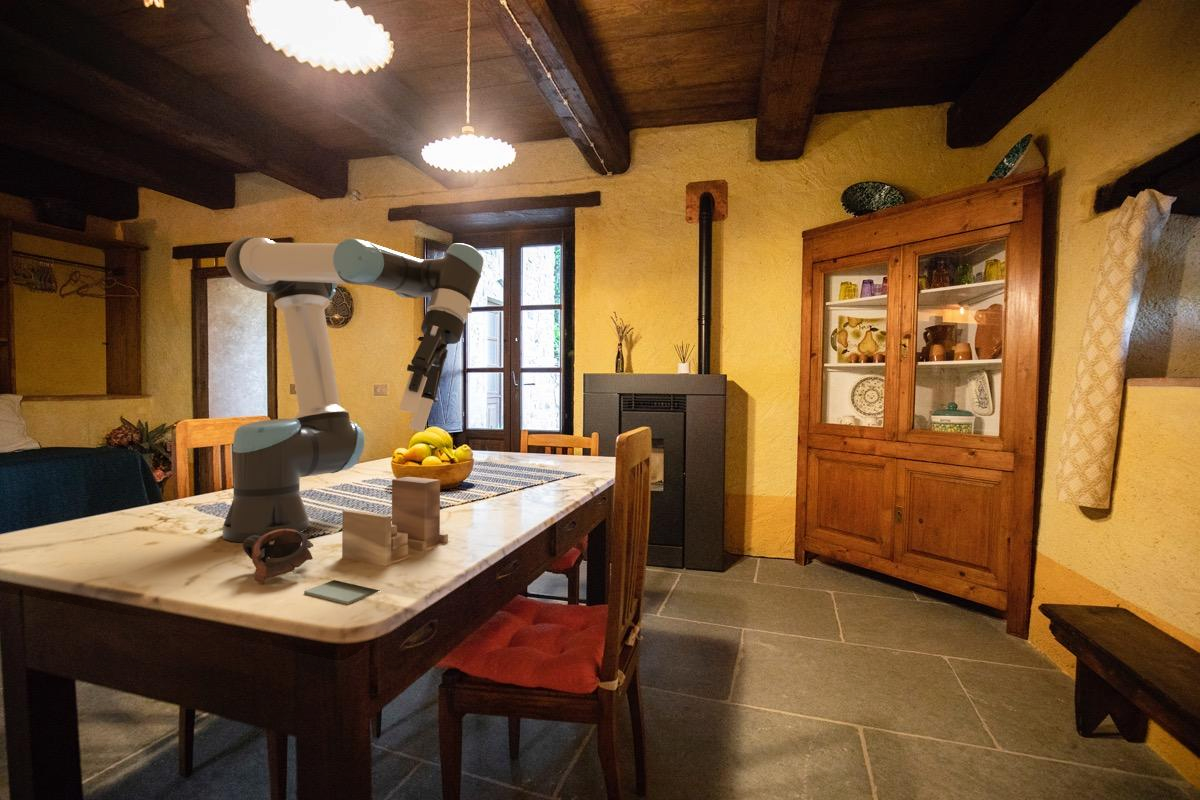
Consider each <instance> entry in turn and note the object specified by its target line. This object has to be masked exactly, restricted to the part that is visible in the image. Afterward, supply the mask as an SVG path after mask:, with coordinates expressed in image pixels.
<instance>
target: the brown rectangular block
mask: <svg viewBox="0 0 1200 800" xmlns="http://www.w3.org/2000/svg"><path fill="white" fill-rule="evenodd" d="M440 523H441V480H440V479H433V478H426V477H414V476H404V477H398V478H393V479H391V524H392V525H396V526H397V532H399V533H408V539H413V540H419V541H425V542H426V548H428V547H431V546H433V545H436V544H439V543H440V533H441V532H440V531H441V529H440V528H441V524H440Z"/></svg>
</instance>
